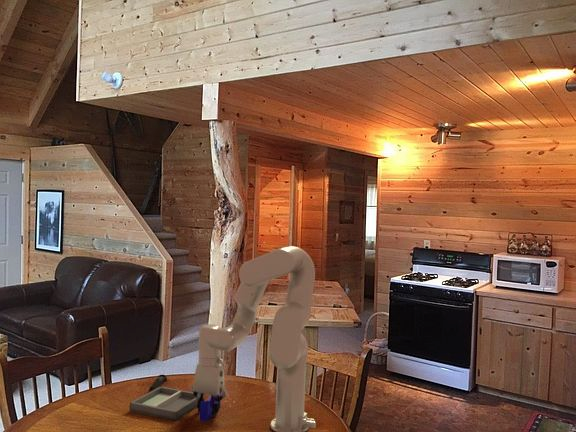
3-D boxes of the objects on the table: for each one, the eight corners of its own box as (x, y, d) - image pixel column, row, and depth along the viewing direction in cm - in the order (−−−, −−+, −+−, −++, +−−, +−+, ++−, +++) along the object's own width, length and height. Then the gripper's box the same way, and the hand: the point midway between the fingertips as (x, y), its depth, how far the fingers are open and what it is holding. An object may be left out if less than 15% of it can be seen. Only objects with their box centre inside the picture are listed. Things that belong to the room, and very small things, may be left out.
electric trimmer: (146, 394, 194) (146, 386, 194) (158, 380, 209) (158, 372, 209) (155, 394, 194) (156, 386, 194) (167, 380, 209) (167, 373, 209)
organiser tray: (203, 402, 186) (203, 394, 186) (175, 421, 170) (175, 412, 169) (160, 394, 193) (160, 386, 193) (129, 411, 176) (129, 402, 176)
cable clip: (208, 406, 183) (209, 389, 183) (220, 407, 182) (220, 391, 182) (195, 419, 171) (195, 402, 171) (207, 421, 170) (208, 403, 170)
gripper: (236, 361, 177) (234, 412, 177) (194, 354, 183) (192, 404, 183) (225, 367, 170) (224, 420, 170) (182, 360, 176) (181, 412, 176)
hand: (208, 411), depth 176 cm, fingers closed on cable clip, 5 cm apart
